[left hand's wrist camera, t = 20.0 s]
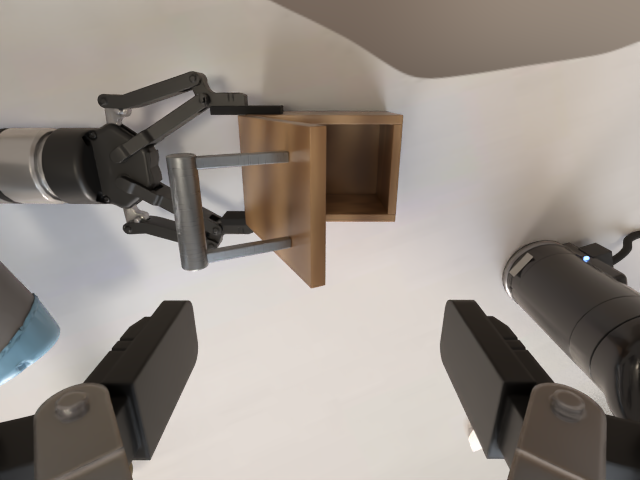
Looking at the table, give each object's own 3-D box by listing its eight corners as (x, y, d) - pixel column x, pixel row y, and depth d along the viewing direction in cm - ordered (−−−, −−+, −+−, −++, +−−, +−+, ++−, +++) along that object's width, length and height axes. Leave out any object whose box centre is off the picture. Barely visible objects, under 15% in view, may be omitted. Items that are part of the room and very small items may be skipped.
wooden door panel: (326, 125, 21) (168, 131, 18) (325, 285, 25) (194, 316, 21) (249, 115, 34) (147, 117, 30) (256, 222, 37) (165, 236, 34)
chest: (386, 111, 42) (403, 115, 34) (381, 198, 46) (395, 222, 37) (260, 111, 42) (244, 114, 34) (264, 198, 46) (251, 221, 37)
